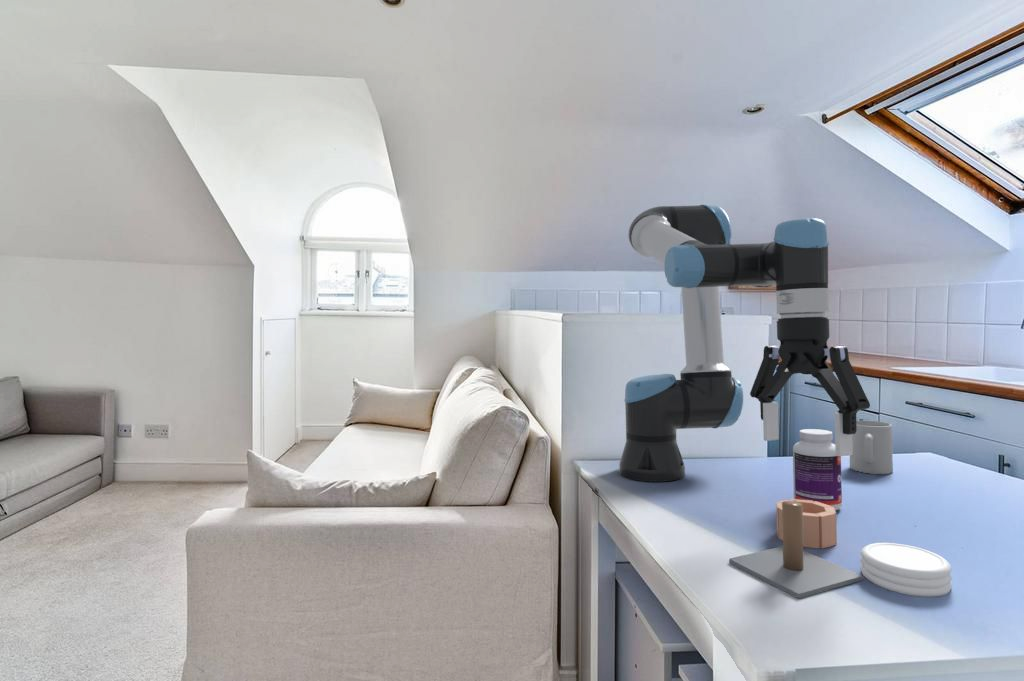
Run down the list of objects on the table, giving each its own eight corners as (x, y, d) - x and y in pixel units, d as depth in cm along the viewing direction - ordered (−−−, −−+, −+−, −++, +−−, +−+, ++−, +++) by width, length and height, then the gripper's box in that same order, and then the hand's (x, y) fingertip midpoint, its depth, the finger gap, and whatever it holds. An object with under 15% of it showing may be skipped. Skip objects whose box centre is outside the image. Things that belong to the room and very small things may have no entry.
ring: (765, 533, 93) (765, 503, 93) (802, 525, 96) (801, 496, 96) (809, 551, 85) (809, 519, 85) (847, 542, 88) (847, 511, 88)
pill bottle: (849, 514, 101) (847, 435, 100) (801, 513, 102) (799, 435, 102) (832, 500, 109) (831, 427, 108) (788, 499, 110) (787, 427, 110)
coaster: (971, 593, 71) (971, 566, 71) (907, 603, 69) (907, 575, 69) (901, 561, 81) (901, 538, 81) (844, 569, 79) (843, 545, 79)
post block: (729, 562, 82) (728, 498, 82) (789, 548, 86) (788, 487, 86) (798, 598, 71) (797, 524, 71) (863, 580, 75) (862, 510, 75)
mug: (851, 463, 136) (850, 419, 136) (893, 468, 131) (892, 422, 131) (846, 475, 126) (846, 427, 126) (892, 480, 121) (891, 430, 121)
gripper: (727, 319, 100) (730, 436, 100) (860, 313, 77) (863, 465, 77) (759, 318, 103) (761, 432, 103) (896, 312, 80) (899, 459, 80)
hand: (805, 447), depth 90 cm, fingers open, 13 cm apart
